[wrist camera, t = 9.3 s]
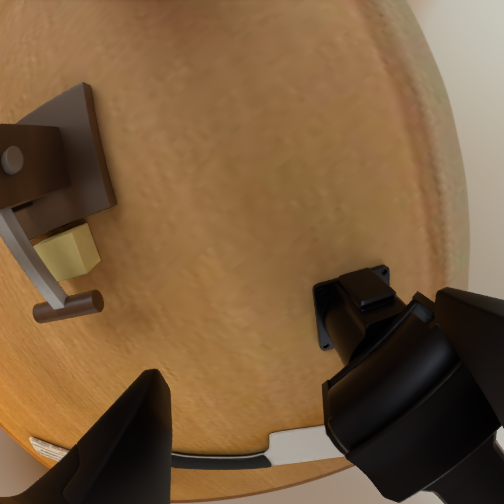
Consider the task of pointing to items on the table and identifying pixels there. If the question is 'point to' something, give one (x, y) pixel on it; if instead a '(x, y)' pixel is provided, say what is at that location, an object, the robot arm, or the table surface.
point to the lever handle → (45, 278)
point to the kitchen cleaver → (268, 452)
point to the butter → (69, 253)
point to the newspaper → (48, 449)
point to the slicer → (54, 164)
